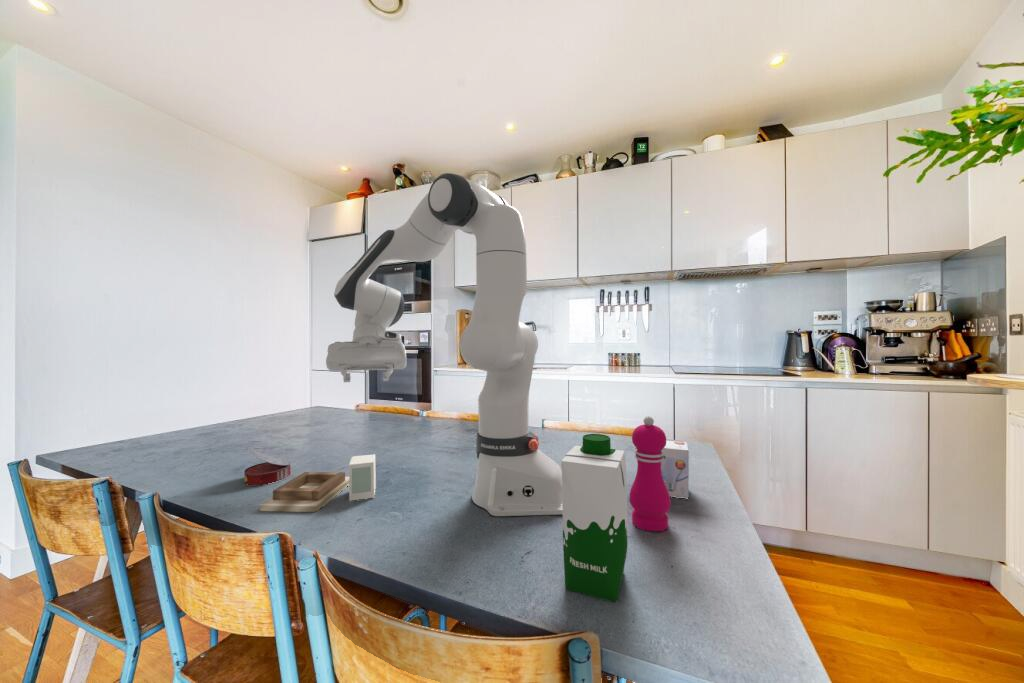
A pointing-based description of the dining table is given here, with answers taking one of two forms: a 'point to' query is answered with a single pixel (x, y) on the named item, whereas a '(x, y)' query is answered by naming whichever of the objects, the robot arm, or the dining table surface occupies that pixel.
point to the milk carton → (594, 517)
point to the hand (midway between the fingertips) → (366, 380)
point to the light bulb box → (676, 468)
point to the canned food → (266, 469)
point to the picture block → (362, 477)
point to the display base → (306, 492)
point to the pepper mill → (649, 479)
